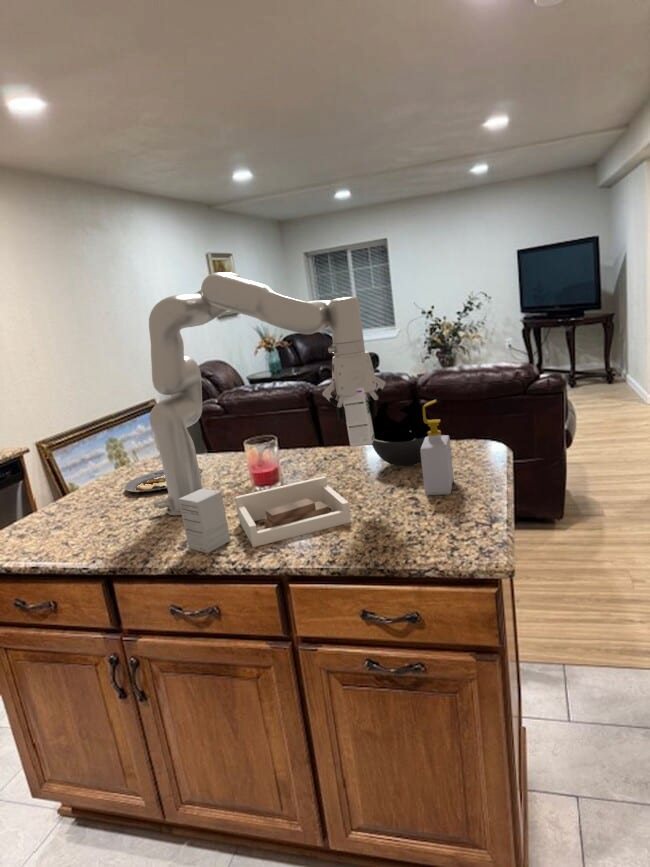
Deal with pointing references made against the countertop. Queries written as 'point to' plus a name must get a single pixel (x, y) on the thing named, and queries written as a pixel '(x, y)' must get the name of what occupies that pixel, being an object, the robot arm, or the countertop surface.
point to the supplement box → (204, 520)
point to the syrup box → (359, 419)
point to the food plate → (145, 478)
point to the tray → (313, 489)
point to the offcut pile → (294, 513)
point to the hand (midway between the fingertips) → (358, 418)
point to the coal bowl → (400, 435)
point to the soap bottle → (436, 459)
